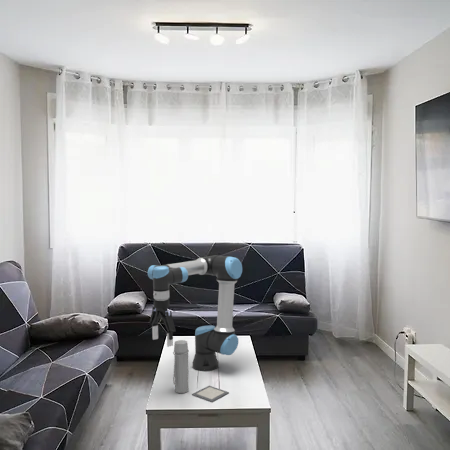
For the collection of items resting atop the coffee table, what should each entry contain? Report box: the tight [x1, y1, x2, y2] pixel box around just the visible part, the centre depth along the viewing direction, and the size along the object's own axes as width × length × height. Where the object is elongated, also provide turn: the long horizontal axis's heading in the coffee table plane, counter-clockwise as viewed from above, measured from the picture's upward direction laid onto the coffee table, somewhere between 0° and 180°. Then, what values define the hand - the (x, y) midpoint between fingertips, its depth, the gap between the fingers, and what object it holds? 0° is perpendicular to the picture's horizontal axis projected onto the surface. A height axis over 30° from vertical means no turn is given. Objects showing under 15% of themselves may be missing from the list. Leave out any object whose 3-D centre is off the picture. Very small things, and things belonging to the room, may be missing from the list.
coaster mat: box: [191, 385, 230, 403], centre depth 224 cm, size 13×13×1 cm
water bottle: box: [172, 339, 190, 394], centre depth 226 cm, size 9×8×25 cm
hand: (162, 342), depth 217 cm, fingers open, 13 cm apart
